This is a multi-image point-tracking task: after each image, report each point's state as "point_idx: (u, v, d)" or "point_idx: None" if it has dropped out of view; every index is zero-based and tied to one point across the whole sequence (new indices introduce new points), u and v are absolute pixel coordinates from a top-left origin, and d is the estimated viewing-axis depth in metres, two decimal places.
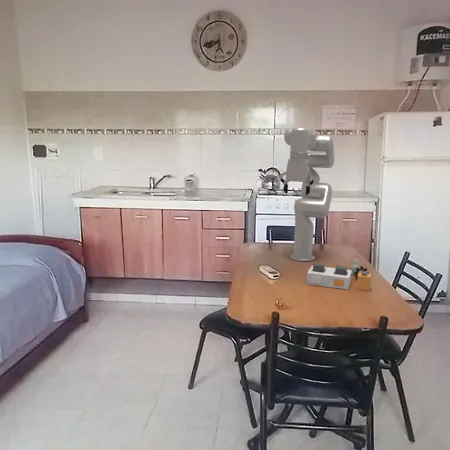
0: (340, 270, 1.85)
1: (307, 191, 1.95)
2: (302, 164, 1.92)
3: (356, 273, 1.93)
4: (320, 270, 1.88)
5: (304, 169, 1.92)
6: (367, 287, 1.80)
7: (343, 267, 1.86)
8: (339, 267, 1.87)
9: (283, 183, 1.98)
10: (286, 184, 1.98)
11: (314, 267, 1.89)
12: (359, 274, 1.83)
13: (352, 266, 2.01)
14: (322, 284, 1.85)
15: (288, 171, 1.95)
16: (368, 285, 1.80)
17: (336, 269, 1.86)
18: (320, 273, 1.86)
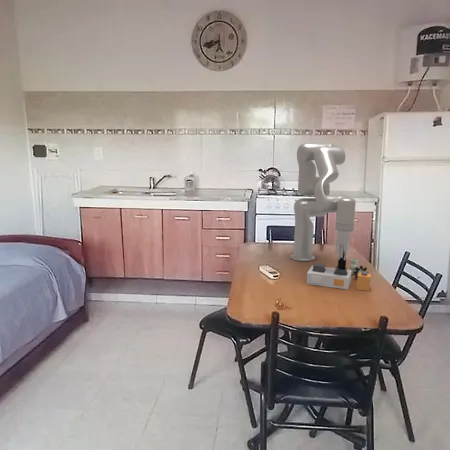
0: (340, 271, 1.85)
1: None
2: None
3: (356, 273, 1.94)
4: (320, 270, 1.88)
5: None
6: (367, 287, 1.80)
7: None
8: None
9: (344, 260, 1.84)
10: None
11: (314, 267, 1.89)
12: (359, 274, 1.83)
13: (352, 266, 2.02)
14: (322, 284, 1.85)
15: (347, 245, 1.80)
16: (368, 285, 1.80)
17: (336, 270, 1.86)
18: (320, 273, 1.86)
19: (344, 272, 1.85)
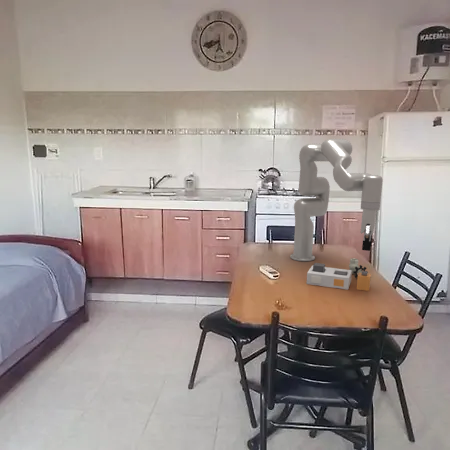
0: None
1: None
2: None
3: (355, 272, 1.95)
4: (320, 270, 1.88)
5: None
6: (367, 287, 1.80)
7: (343, 273, 1.87)
8: (339, 272, 1.87)
9: (369, 240, 1.75)
10: None
11: (314, 267, 1.89)
12: (359, 274, 1.83)
13: (351, 265, 2.03)
14: (322, 284, 1.85)
15: (374, 224, 1.74)
16: (368, 285, 1.80)
17: None
18: (320, 273, 1.86)
19: None
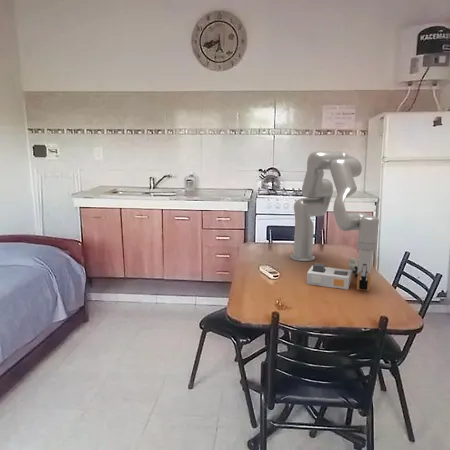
0: None
1: None
2: None
3: (355, 272, 1.95)
4: (320, 270, 1.88)
5: None
6: (367, 287, 1.80)
7: (343, 273, 1.87)
8: (339, 272, 1.87)
9: (366, 280, 1.79)
10: None
11: (314, 267, 1.89)
12: (359, 274, 1.83)
13: (351, 265, 2.03)
14: (322, 284, 1.85)
15: (370, 264, 1.77)
16: (368, 285, 1.80)
17: None
18: (320, 273, 1.86)
19: None
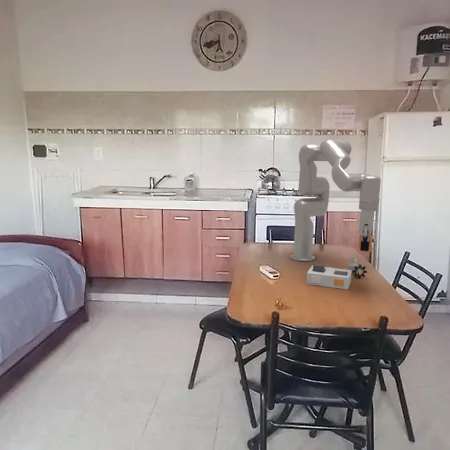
0: None
1: None
2: None
3: (354, 271, 1.96)
4: (320, 270, 1.88)
5: None
6: (369, 248, 1.78)
7: (343, 273, 1.87)
8: (339, 272, 1.87)
9: (368, 241, 1.76)
10: None
11: (314, 267, 1.89)
12: (360, 235, 1.80)
13: (350, 265, 2.04)
14: (322, 284, 1.85)
15: (372, 224, 1.74)
16: (370, 246, 1.77)
17: None
18: (320, 273, 1.86)
19: None
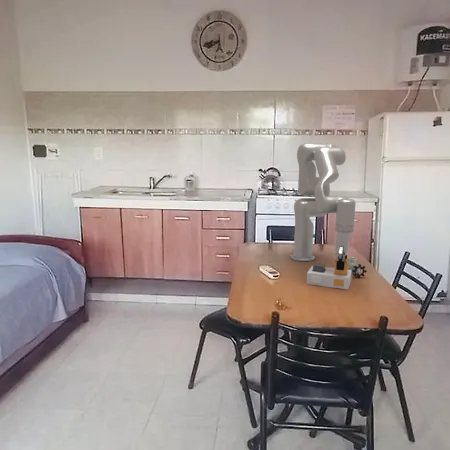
0: None
1: None
2: None
3: (354, 271, 1.96)
4: (320, 270, 1.88)
5: None
6: (344, 271, 1.84)
7: None
8: None
9: (343, 260, 1.80)
10: None
11: (314, 267, 1.89)
12: None
13: (350, 264, 2.04)
14: (322, 284, 1.85)
15: (347, 246, 1.81)
16: (345, 269, 1.84)
17: None
18: (320, 273, 1.86)
19: None
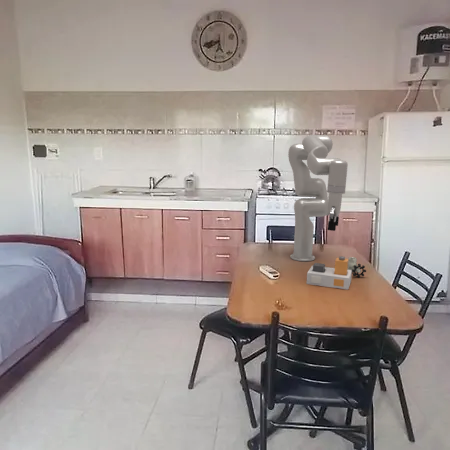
0: None
1: None
2: None
3: (354, 271, 1.97)
4: (320, 270, 1.88)
5: None
6: (344, 271, 1.84)
7: None
8: None
9: (334, 220, 1.83)
10: None
11: (314, 267, 1.89)
12: (337, 259, 1.87)
13: (350, 264, 2.05)
14: (322, 284, 1.85)
15: (339, 206, 1.84)
16: (345, 269, 1.84)
17: None
18: (320, 273, 1.86)
19: None
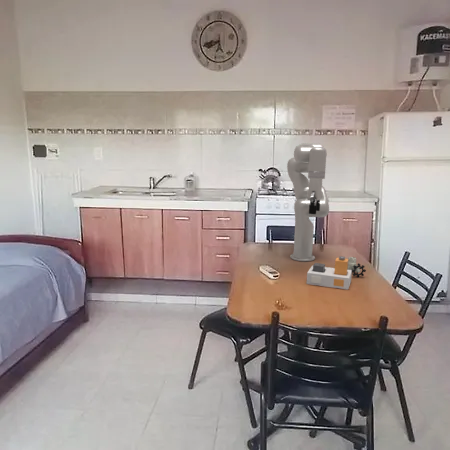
0: None
1: None
2: None
3: (353, 270, 1.97)
4: (320, 270, 1.88)
5: None
6: (344, 271, 1.84)
7: None
8: None
9: (315, 204, 1.94)
10: None
11: (314, 267, 1.89)
12: (337, 259, 1.87)
13: (349, 264, 2.05)
14: (322, 284, 1.85)
15: (319, 191, 1.94)
16: (345, 269, 1.84)
17: None
18: (320, 273, 1.86)
19: None
